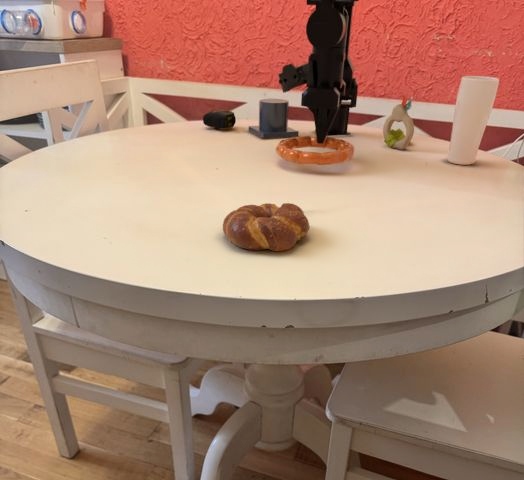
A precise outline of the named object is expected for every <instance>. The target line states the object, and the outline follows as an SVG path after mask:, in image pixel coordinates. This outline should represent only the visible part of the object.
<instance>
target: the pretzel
mask: <svg viewBox="0 0 524 480" xmlns="http://www.w3.org/2000/svg"><path fill="white" fill-rule="evenodd" d="M310 228H311V227H310V222H309V219H308V217H307V216H306V215H305V213H304V210H303V209H302V208H301V207H300V206H298V205H297V204H294V203H290V202H286V203H285V202H284V203H282V204H281V205H280V206H277V205H276V204H275V203H266V202H265V203H262V204H260V205H257V204H247V205H246V204H245V205H242V206H240V207H238V208H237V209H234V210H232V211H231V212H229V213H228V214H227V215H226V216H225V218H224V219H223V223H222V231H223V234H224V236H225V237H226V238H227V239H228V240H229V241H230V242H231V243H232V244H233V245H235V246H237V247H239V248H242V249H246V250H250V251H254V250H258V251H259V250H270V251H274V252H282V251H286V250H290V249H291V248H293V247H294V246H295V245H296V244H297V242H299V241H300V240H301V238H302V237H305V236H306V235H307V234H308V232H309V230H310Z"/></svg>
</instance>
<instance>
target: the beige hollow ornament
mask: <svg viewBox="0 0 524 480" xmlns="http://www.w3.org/2000/svg"><path fill="white" fill-rule="evenodd" d="M399 91H400V93H401V96H402V101H401V103H399V104H396V105H395V106H394V107H393V108H392V111H391V114H390V115H389V116H388V117H387V118H386V119H385V121H384V124H383V127H382V134H383V138H384V141H383V142H384V143H385V144H386V146H388V147H389V148H391V149H399V150H402V151H403V150H406V149H407V148H408V146H409V145H410V144H411V142H412V139H413V137H414V134H415V124H414V120H413V119H412V117H411V116H410V115H409V114H408V113H409V112H408V111H409V110H411V109H412V101H413V98H414V97H413V96H411V97H410V100H409V101H408V99H407V97H406V95H405V94H404V93H403V91H402V90H399ZM395 122H396V123H401V122H402V123H403V124H404V127H405V133H404V131H403V130H402V129H401V128H397V129H396V130H395V129H393V128H392V126H393V124H394V123H395Z"/></svg>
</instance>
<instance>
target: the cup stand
mask: <svg viewBox="0 0 524 480" xmlns="http://www.w3.org/2000/svg"><path fill="white" fill-rule="evenodd" d="M258 105H259V107H258V125H249V126H248V132H249V133H251V134H253V135H254V136H256V137H259V138H260V139H262V140H269V139H271V140H272V139H288V138H292V137H299V132H300V131H299V130H297V129H294V128H292V127H290V126H289V106H290V101H289V100H288V99H283V98H262V99H259V100H258Z"/></svg>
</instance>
